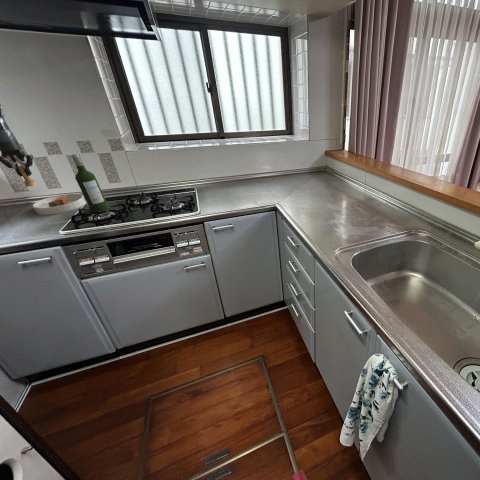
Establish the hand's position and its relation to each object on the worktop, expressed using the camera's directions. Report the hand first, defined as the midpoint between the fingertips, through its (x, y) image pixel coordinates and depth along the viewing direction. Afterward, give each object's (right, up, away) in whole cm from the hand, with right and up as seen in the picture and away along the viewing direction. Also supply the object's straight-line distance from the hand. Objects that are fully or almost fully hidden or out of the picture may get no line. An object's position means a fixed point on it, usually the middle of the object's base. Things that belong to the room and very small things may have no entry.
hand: (25, 175), depth 135 cm
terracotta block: (+3, -12, +16) cm, 21 cm away
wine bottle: (+29, -17, +11) cm, 35 cm away
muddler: (0, -4, +3) cm, 5 cm away
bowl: (+5, -15, +14) cm, 21 cm away
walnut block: (+3, -15, +12) cm, 20 cm away
